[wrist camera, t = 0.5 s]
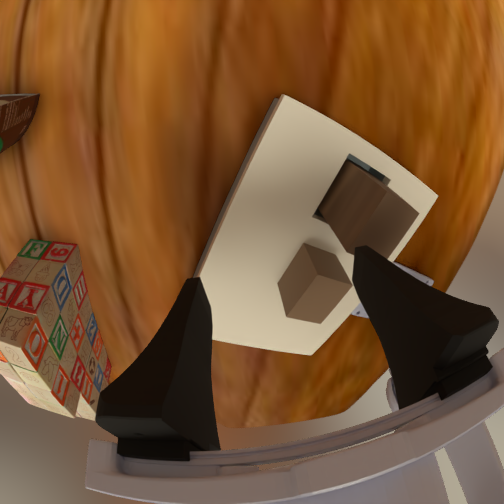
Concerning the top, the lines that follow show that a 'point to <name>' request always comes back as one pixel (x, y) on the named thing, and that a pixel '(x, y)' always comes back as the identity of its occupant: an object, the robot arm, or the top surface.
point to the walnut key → (365, 211)
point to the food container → (15, 117)
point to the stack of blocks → (51, 331)
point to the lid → (292, 235)
